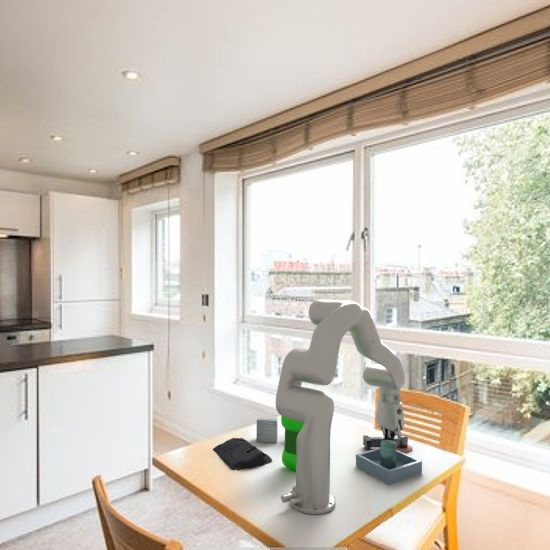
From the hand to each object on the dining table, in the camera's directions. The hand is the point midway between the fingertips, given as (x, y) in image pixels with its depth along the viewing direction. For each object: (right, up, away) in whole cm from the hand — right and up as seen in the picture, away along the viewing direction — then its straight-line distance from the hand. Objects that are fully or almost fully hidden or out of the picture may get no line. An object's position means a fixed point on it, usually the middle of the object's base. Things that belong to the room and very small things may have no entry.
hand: (389, 447), depth 155 cm
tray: (-4, -2, -15) cm, 15 cm away
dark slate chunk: (-54, -2, -4) cm, 54 cm away
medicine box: (-45, -2, +10) cm, 46 cm away
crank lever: (0, -1, +3) cm, 3 cm away
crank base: (+6, -2, +3) cm, 7 cm away
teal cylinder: (-4, 0, -15) cm, 15 cm away
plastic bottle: (-35, -1, -14) cm, 38 cm away
